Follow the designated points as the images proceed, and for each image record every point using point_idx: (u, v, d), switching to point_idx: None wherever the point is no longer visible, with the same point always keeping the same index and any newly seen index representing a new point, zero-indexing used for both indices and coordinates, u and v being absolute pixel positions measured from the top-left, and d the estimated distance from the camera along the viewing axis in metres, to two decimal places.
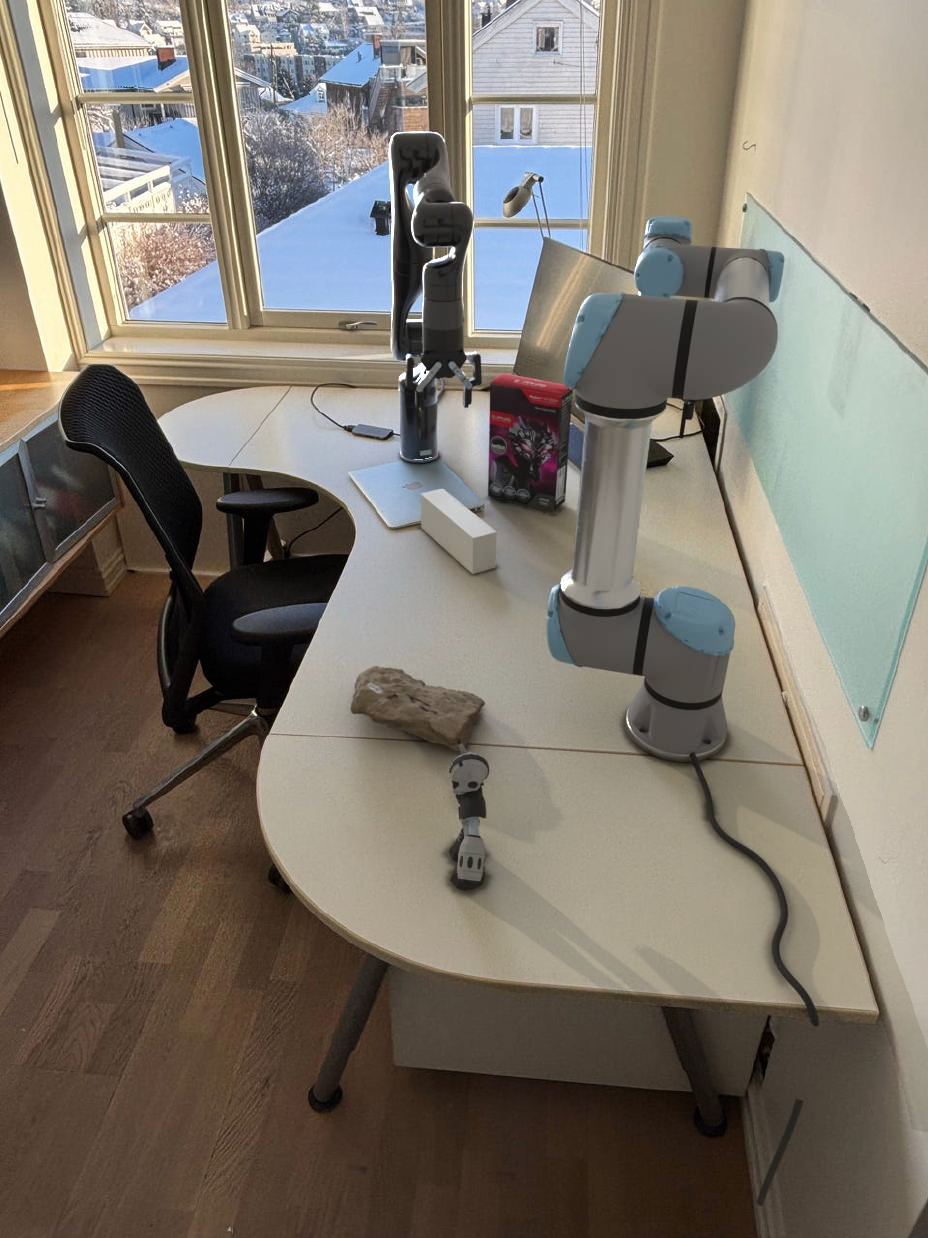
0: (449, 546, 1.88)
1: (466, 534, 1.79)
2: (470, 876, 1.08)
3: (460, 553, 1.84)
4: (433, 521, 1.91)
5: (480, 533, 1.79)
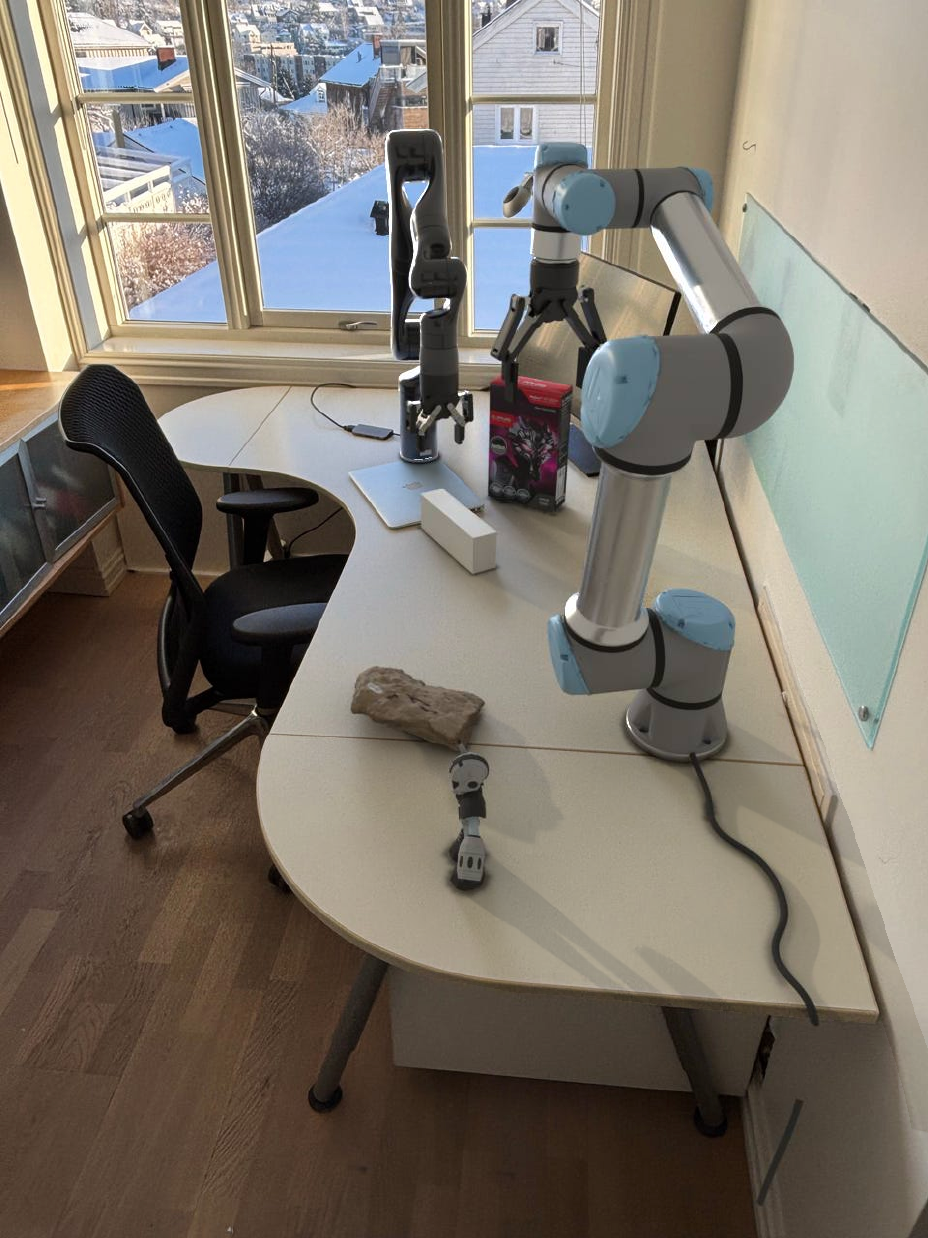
0: (449, 546, 1.88)
1: (466, 534, 1.79)
2: (470, 876, 1.08)
3: (460, 553, 1.84)
4: (433, 521, 1.91)
5: (480, 533, 1.79)
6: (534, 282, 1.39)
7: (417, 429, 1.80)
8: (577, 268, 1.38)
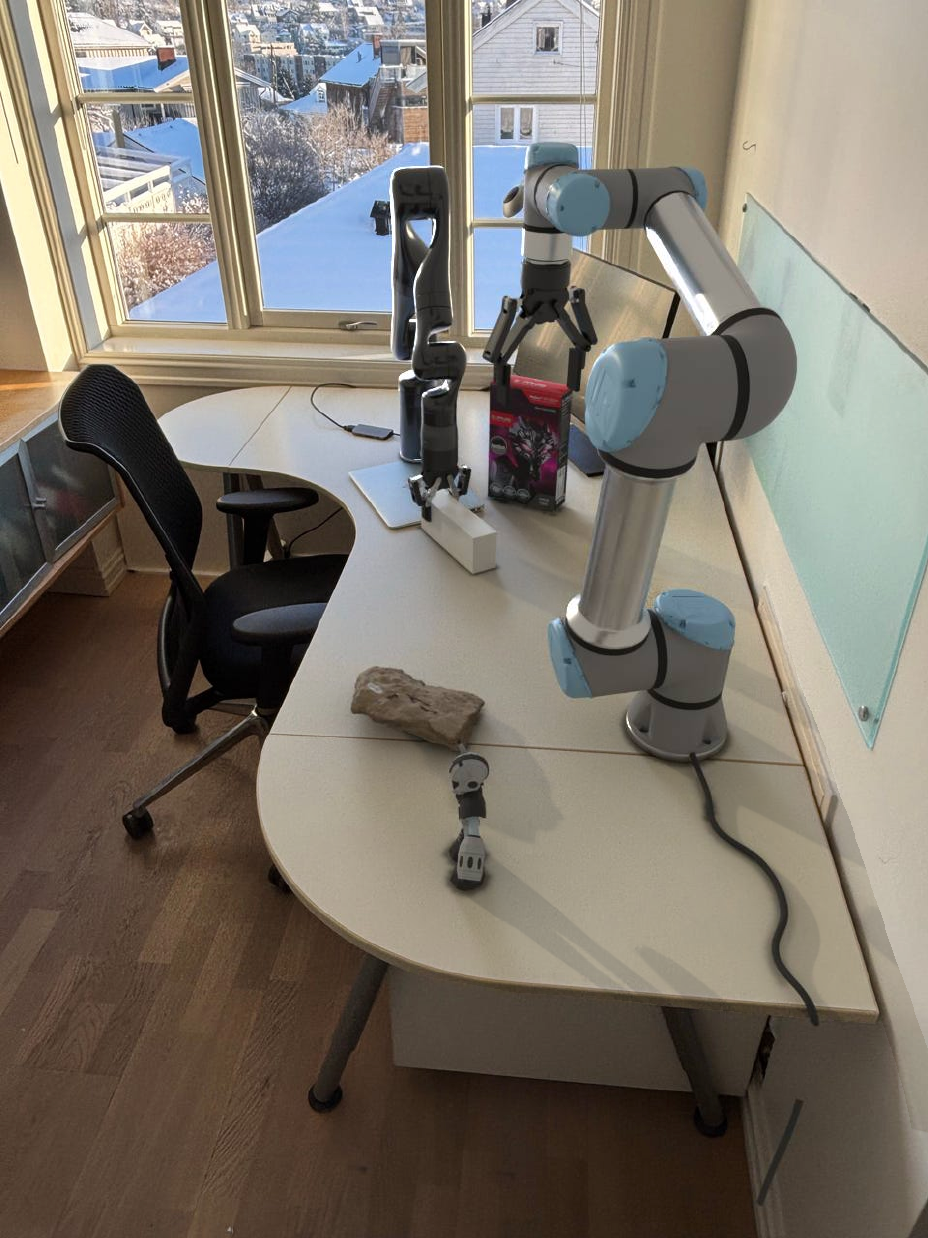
0: (449, 546, 1.88)
1: (466, 534, 1.79)
2: (470, 876, 1.08)
3: (460, 553, 1.84)
4: (433, 521, 1.91)
5: (480, 533, 1.79)
6: (526, 283, 1.37)
7: (423, 502, 1.89)
8: (569, 269, 1.37)
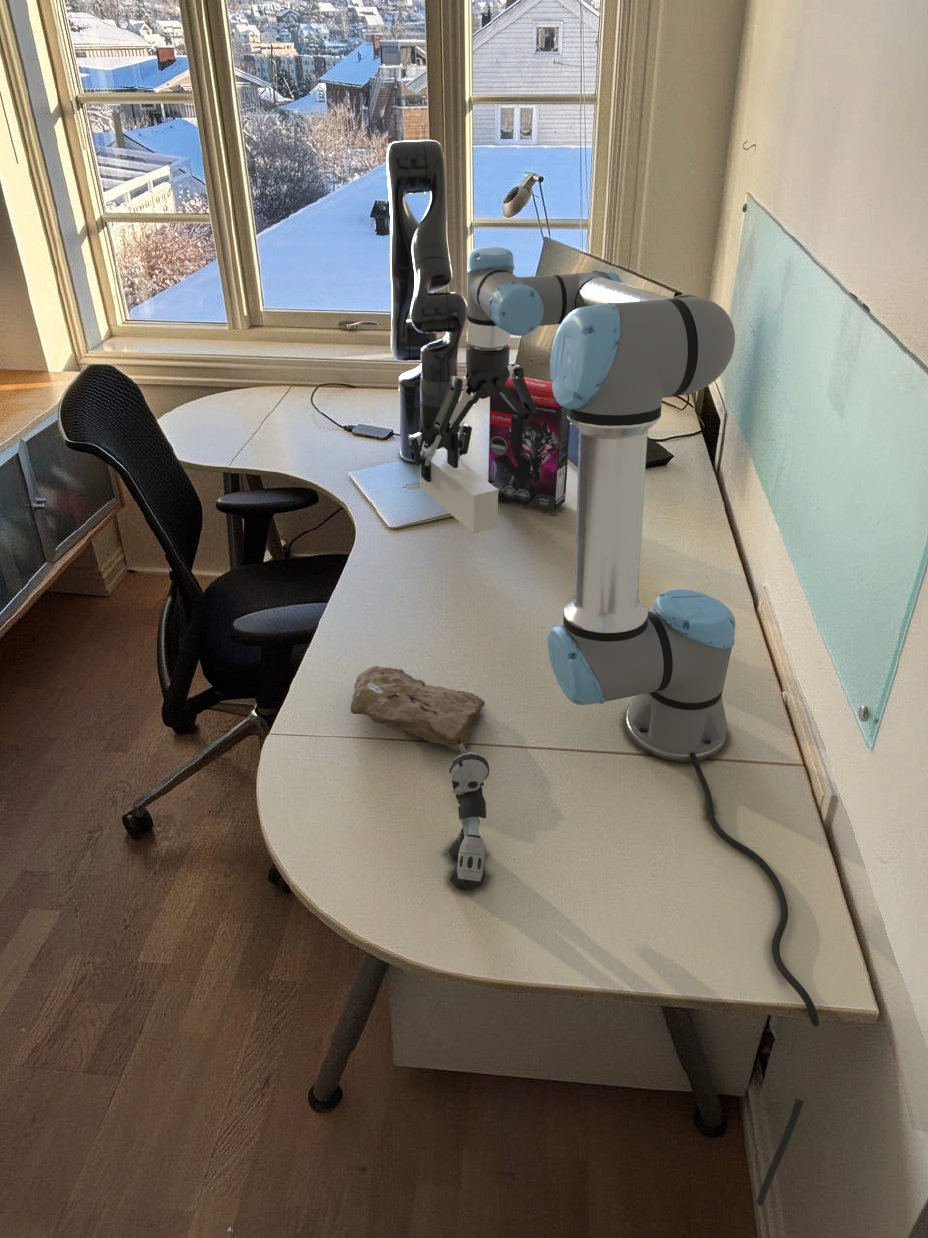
0: (449, 506, 1.83)
1: (467, 492, 1.75)
2: (470, 876, 1.08)
3: (461, 512, 1.79)
4: (433, 480, 1.86)
5: (481, 490, 1.74)
6: (470, 365, 1.58)
7: (423, 461, 1.84)
8: (507, 353, 1.58)
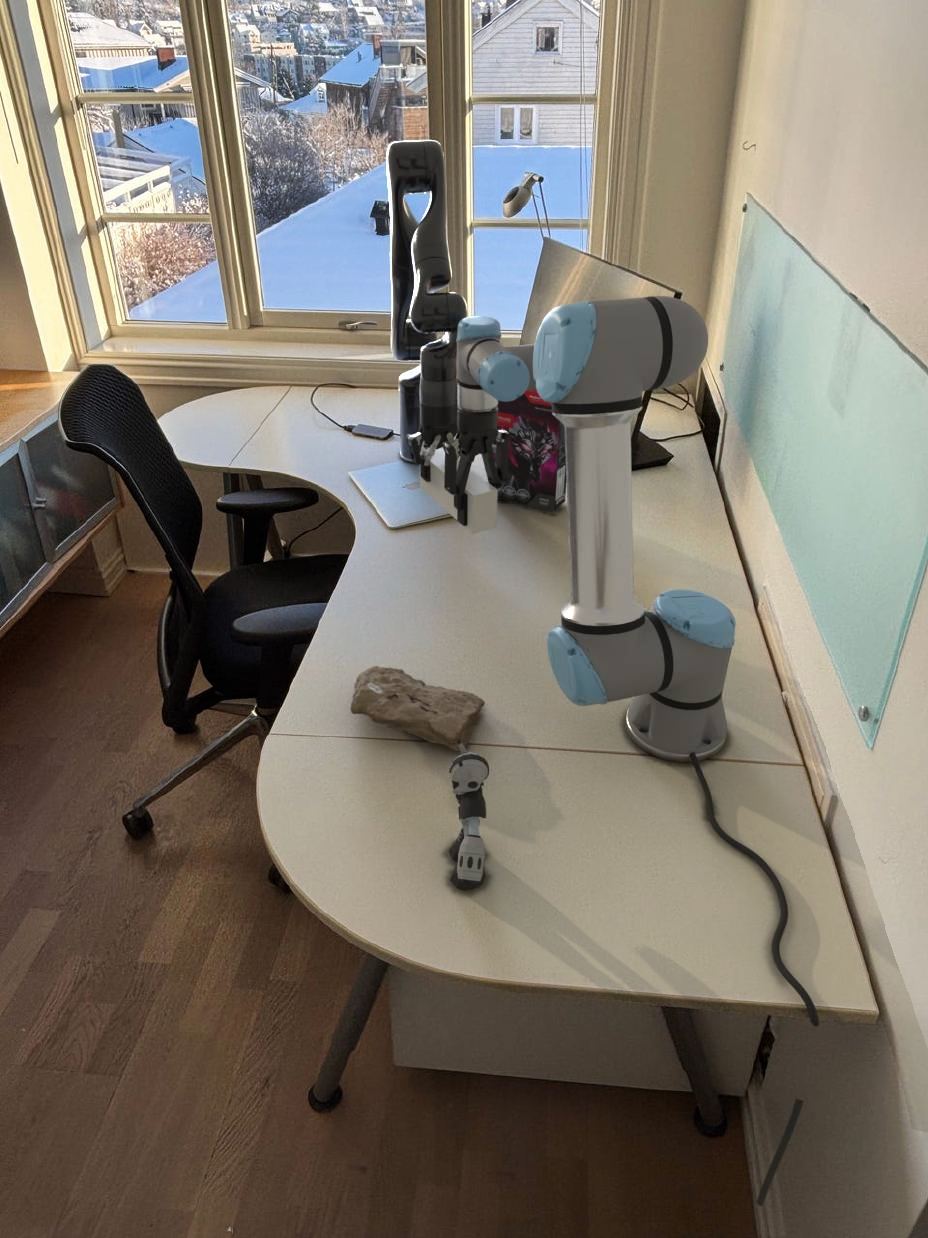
0: (448, 506, 1.83)
1: (466, 492, 1.74)
2: (470, 876, 1.08)
3: None
4: (432, 480, 1.86)
5: (481, 490, 1.74)
6: (461, 426, 1.67)
7: (422, 461, 1.84)
8: (496, 414, 1.66)
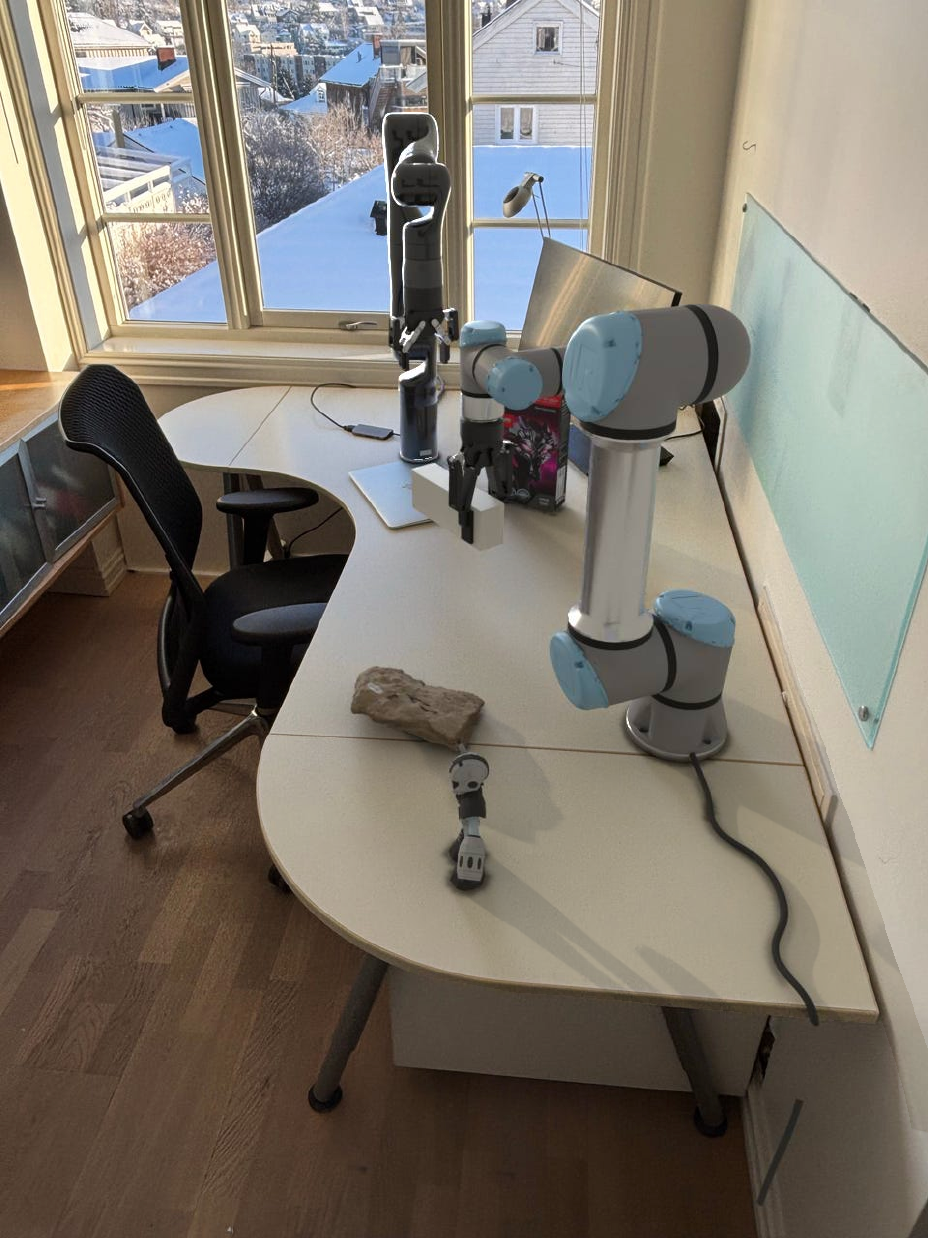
0: (449, 524, 1.72)
1: (472, 508, 1.64)
2: (470, 876, 1.08)
3: None
4: (428, 498, 1.75)
5: (487, 505, 1.64)
6: (466, 438, 1.57)
7: (401, 346, 1.76)
8: (502, 424, 1.57)
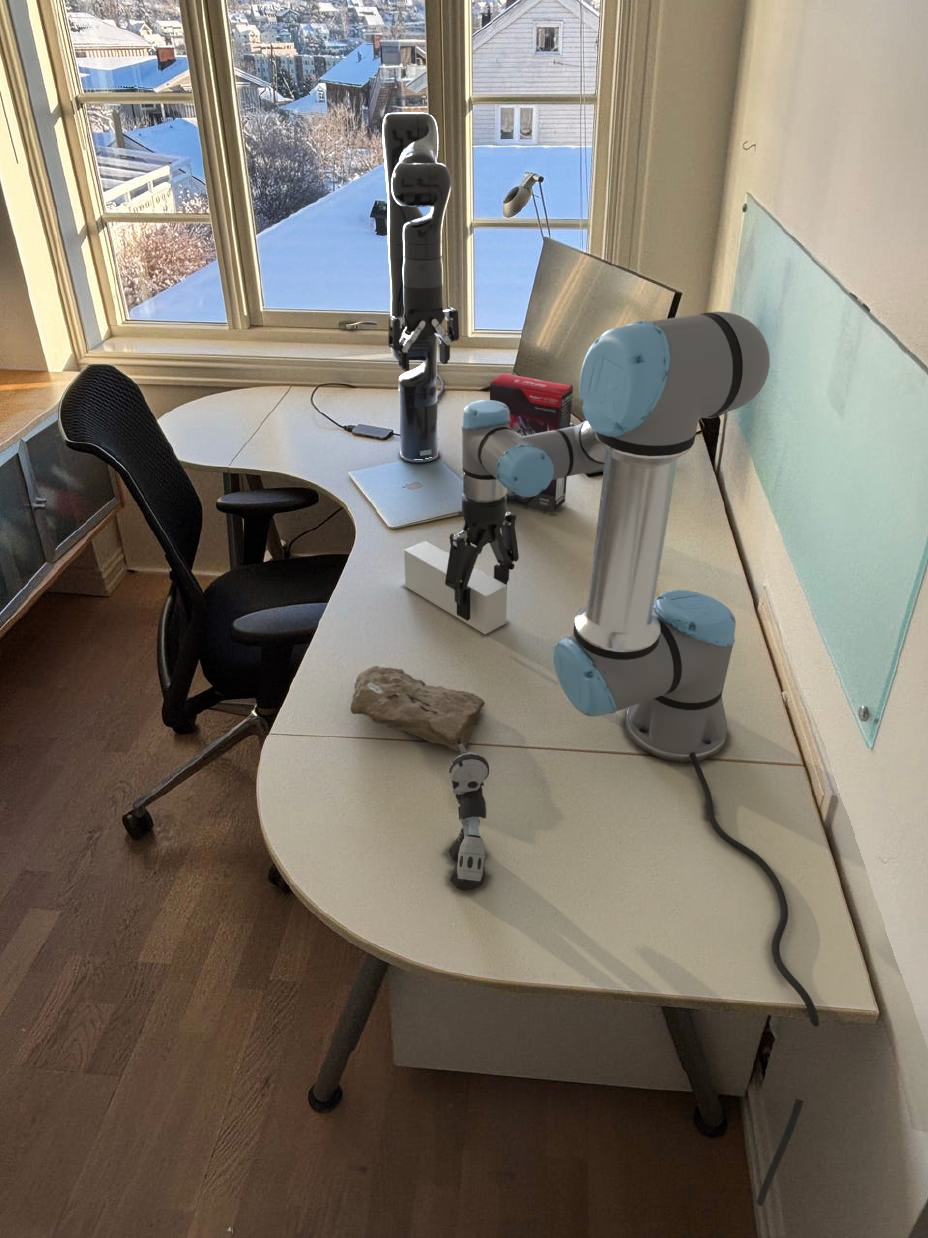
0: (449, 605, 1.69)
1: (475, 592, 1.62)
2: (470, 876, 1.08)
3: None
4: (424, 579, 1.72)
5: (491, 589, 1.62)
6: (469, 518, 1.53)
7: (401, 346, 1.76)
8: (506, 502, 1.54)
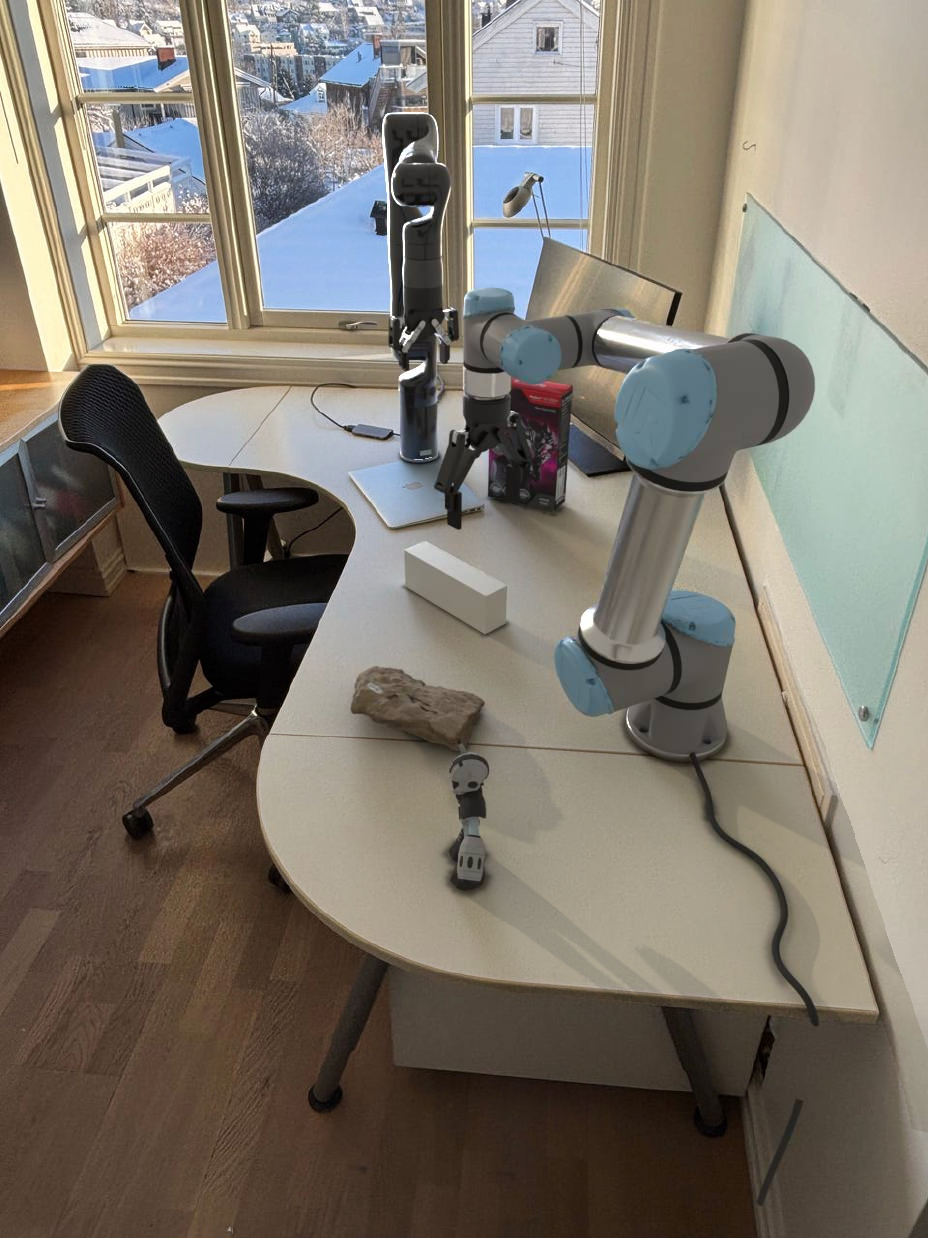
0: (449, 605, 1.69)
1: (475, 592, 1.62)
2: (470, 876, 1.08)
3: (466, 613, 1.66)
4: (424, 579, 1.72)
5: (491, 589, 1.62)
6: (471, 417, 1.43)
7: (401, 346, 1.76)
8: (509, 401, 1.44)
